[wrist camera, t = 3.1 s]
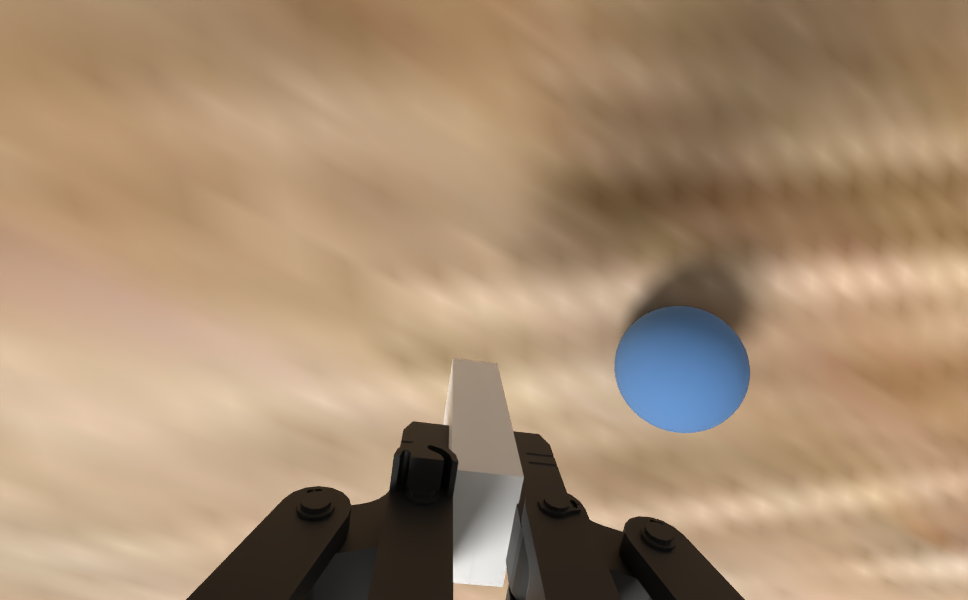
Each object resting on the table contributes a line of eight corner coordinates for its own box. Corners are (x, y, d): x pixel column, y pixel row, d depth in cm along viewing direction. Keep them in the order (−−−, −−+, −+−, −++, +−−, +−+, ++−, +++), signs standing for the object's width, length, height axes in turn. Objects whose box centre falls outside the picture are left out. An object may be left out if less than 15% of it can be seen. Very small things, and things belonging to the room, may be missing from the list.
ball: (613, 285, 24) (659, 318, 18) (722, 301, 24) (797, 337, 19) (589, 391, 25) (626, 451, 20) (693, 403, 26) (756, 465, 20)
